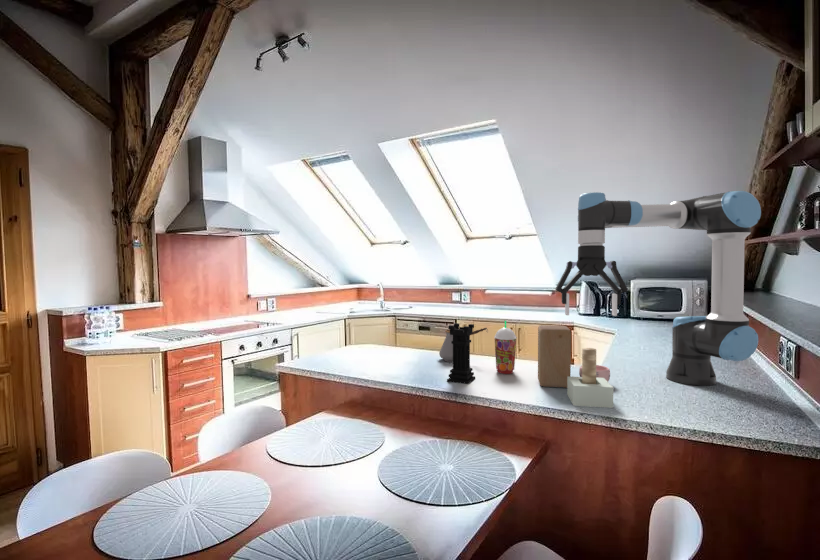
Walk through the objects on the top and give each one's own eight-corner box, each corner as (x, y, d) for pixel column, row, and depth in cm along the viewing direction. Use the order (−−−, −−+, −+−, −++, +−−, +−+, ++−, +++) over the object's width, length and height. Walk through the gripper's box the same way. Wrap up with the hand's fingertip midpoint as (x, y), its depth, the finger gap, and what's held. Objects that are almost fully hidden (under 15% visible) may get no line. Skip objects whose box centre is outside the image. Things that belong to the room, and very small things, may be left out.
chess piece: (475, 378, 164) (475, 324, 163) (468, 384, 156) (468, 327, 156) (454, 376, 167) (454, 323, 166) (447, 381, 160) (447, 325, 159)
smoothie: (492, 373, 171) (492, 321, 170) (496, 368, 178) (496, 318, 177) (514, 375, 167) (514, 322, 167) (517, 370, 175) (518, 319, 174)
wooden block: (570, 388, 150) (571, 329, 150) (539, 387, 152) (540, 328, 152) (566, 380, 160) (567, 325, 159) (537, 379, 162) (538, 324, 161)
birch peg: (594, 395, 139) (594, 347, 138) (597, 400, 135) (597, 350, 134) (580, 395, 139) (580, 347, 139) (583, 399, 136) (583, 350, 135)
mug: (612, 389, 150) (612, 371, 150) (581, 387, 152) (581, 370, 152) (605, 380, 161) (606, 363, 161) (576, 378, 164) (577, 362, 164)
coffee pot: (435, 361, 192) (435, 326, 191) (444, 356, 202) (444, 323, 201) (484, 366, 183) (484, 329, 182) (491, 360, 193) (491, 325, 193)
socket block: (603, 396, 142) (603, 377, 141) (613, 407, 131) (613, 387, 131) (567, 394, 144) (567, 376, 143) (573, 405, 133) (573, 385, 132)
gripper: (631, 244, 137) (630, 314, 138) (546, 245, 141) (546, 313, 142) (639, 244, 129) (638, 317, 130) (549, 245, 134) (549, 316, 135)
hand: (590, 315), depth 136 cm, fingers open, 13 cm apart
